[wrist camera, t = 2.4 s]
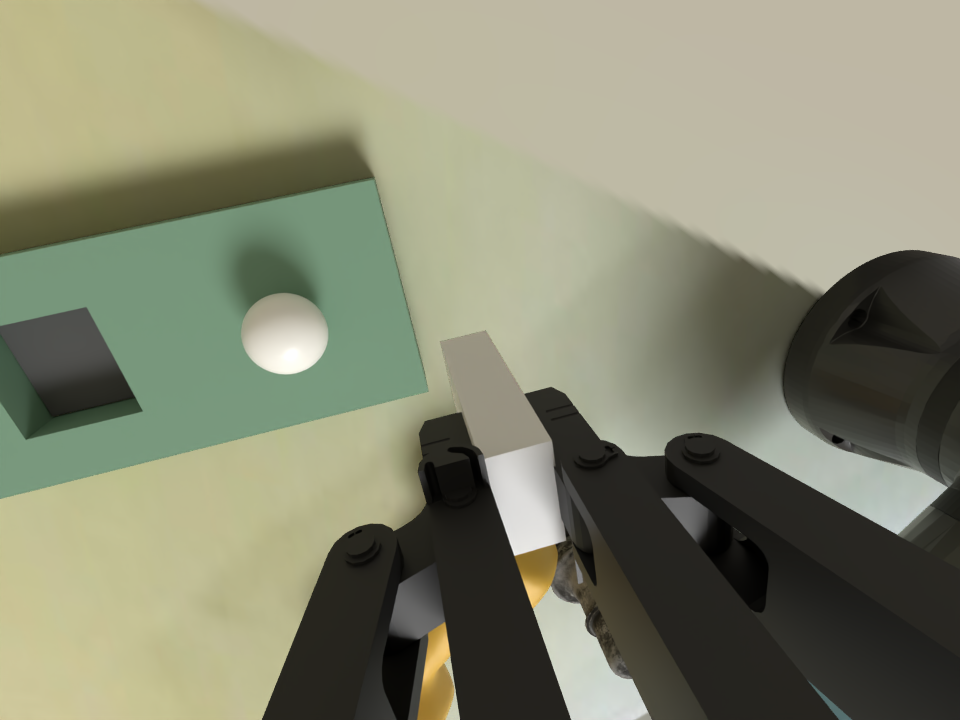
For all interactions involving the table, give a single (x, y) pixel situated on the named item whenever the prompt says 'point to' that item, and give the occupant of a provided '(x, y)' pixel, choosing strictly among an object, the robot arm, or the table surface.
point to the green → (193, 333)
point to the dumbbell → (436, 678)
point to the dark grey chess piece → (585, 605)
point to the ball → (284, 333)
